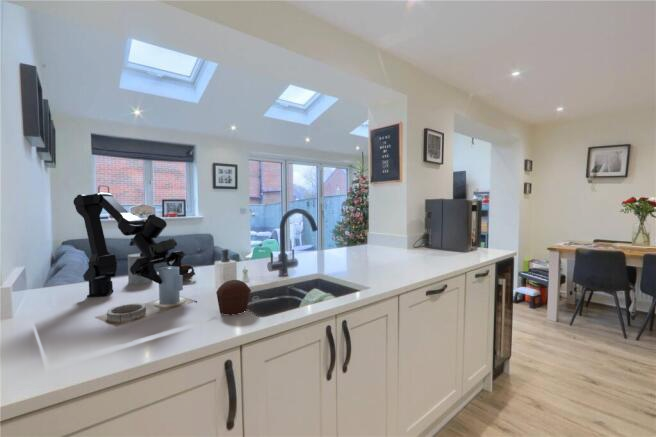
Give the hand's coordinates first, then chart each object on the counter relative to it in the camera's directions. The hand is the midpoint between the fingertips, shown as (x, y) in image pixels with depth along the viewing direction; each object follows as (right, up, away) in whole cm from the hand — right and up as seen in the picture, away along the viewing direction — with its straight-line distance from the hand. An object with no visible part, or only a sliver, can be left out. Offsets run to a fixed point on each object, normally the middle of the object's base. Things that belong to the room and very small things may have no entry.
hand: (172, 280), depth 106 cm
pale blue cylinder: (0, -8, +1) cm, 8 cm away
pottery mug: (-13, -7, +34) cm, 37 cm away
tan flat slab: (-5, -9, -5) cm, 12 cm away
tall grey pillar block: (-31, -7, +32) cm, 45 cm away
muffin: (+22, -10, -3) cm, 25 cm away
